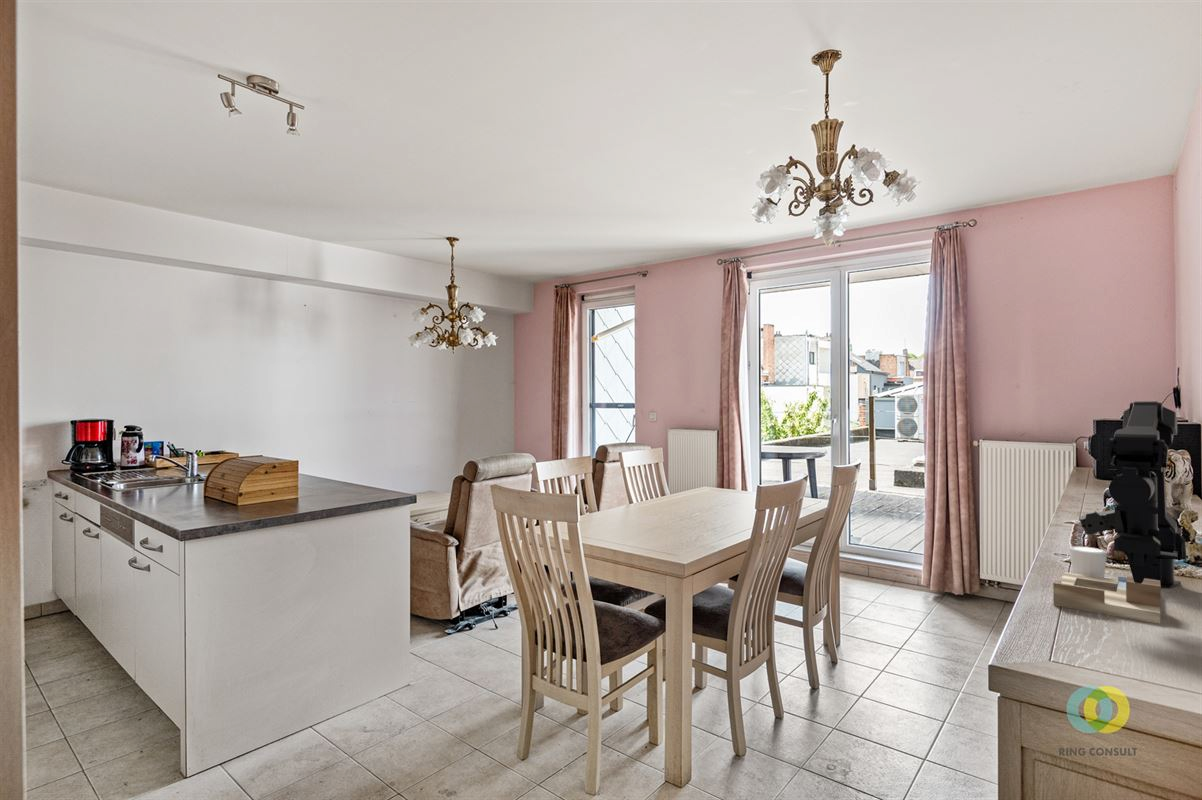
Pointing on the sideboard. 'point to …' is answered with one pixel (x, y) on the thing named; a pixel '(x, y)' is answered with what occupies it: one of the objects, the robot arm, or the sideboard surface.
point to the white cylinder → (1088, 561)
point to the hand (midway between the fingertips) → (1137, 582)
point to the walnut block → (1143, 592)
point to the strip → (1122, 582)
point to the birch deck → (1099, 597)
